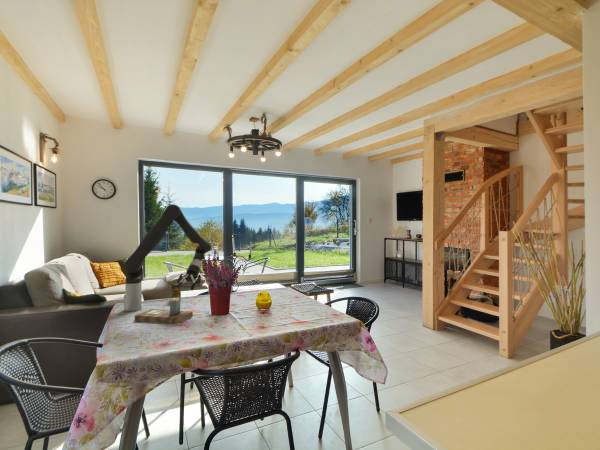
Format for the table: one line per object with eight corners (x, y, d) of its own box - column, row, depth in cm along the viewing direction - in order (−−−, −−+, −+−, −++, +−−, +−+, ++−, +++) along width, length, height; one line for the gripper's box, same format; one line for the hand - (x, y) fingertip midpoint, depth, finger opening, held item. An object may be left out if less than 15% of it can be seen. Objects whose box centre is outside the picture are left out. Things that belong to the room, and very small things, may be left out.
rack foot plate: (134, 320, 181) (134, 314, 181) (150, 313, 195) (150, 308, 195) (179, 323, 176) (179, 317, 176) (192, 316, 189) (192, 310, 189)
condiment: (183, 301, 225) (183, 284, 225) (171, 303, 219) (171, 286, 219) (178, 299, 230) (178, 283, 230) (166, 301, 225) (166, 284, 224)
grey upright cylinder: (169, 320, 182) (169, 299, 182) (174, 318, 186) (174, 297, 186) (176, 320, 182) (176, 299, 181) (180, 318, 185) (180, 297, 185)
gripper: (182, 263, 204) (172, 285, 193) (203, 264, 201) (193, 286, 190) (187, 270, 209) (177, 292, 198) (207, 271, 206) (198, 293, 195)
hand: (185, 289), depth 194 cm, fingers open, 8 cm apart
